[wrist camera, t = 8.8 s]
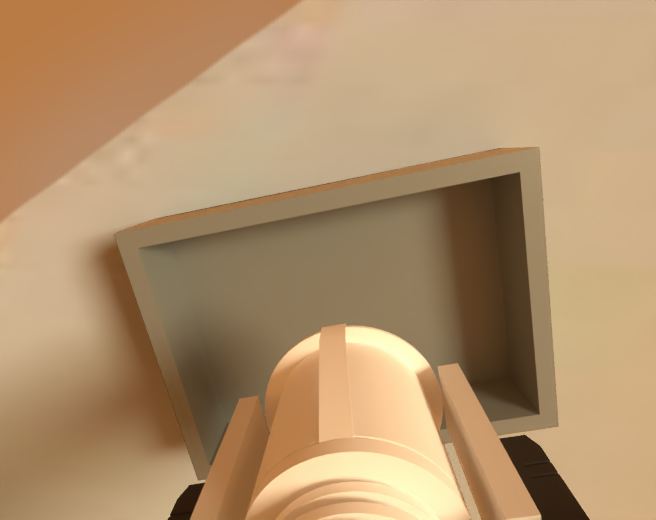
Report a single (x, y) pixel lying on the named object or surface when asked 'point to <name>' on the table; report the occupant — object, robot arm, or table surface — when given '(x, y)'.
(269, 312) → the tote
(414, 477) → the downlight
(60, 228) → the table surface
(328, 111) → the table surface
